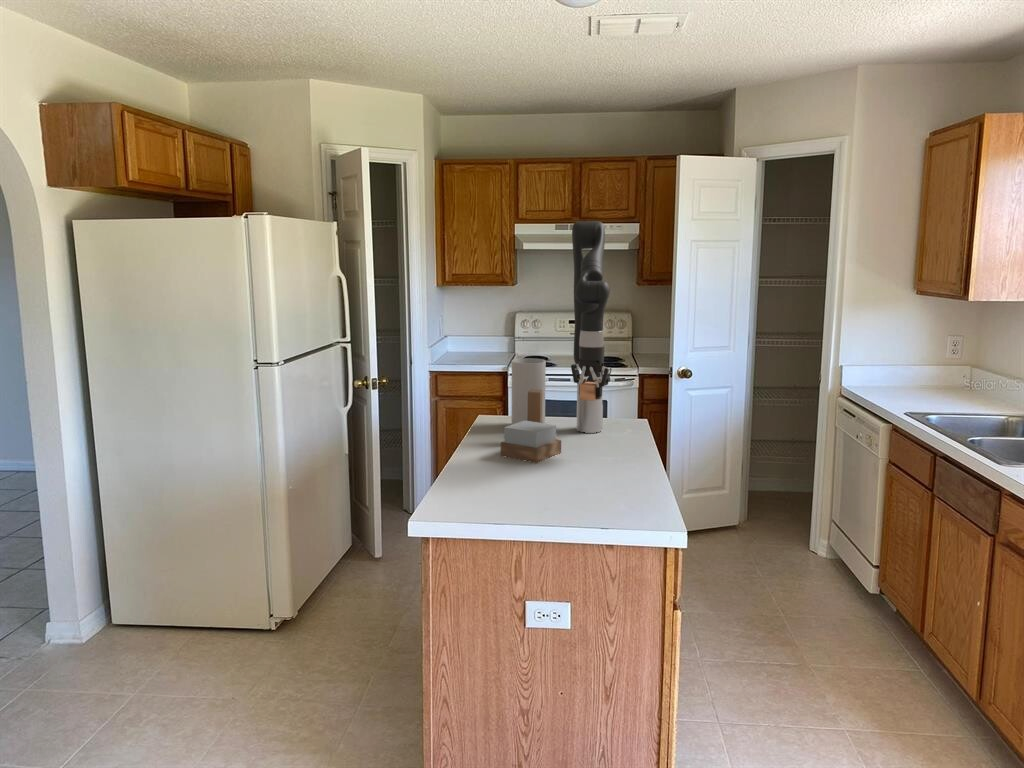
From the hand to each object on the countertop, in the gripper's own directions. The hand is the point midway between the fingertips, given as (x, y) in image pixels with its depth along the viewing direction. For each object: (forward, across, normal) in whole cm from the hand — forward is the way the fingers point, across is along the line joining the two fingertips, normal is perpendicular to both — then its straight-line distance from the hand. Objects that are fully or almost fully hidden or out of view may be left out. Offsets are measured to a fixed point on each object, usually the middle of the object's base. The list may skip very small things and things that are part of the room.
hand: (590, 397), depth 236 cm
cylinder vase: (+19, +38, -19) cm, 47 cm away
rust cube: (0, 0, 0) cm, 0 cm away
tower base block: (+19, +15, +12) cm, 27 cm away
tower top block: (+14, +15, +12) cm, 24 cm away
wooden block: (+19, +21, -3) cm, 29 cm away
